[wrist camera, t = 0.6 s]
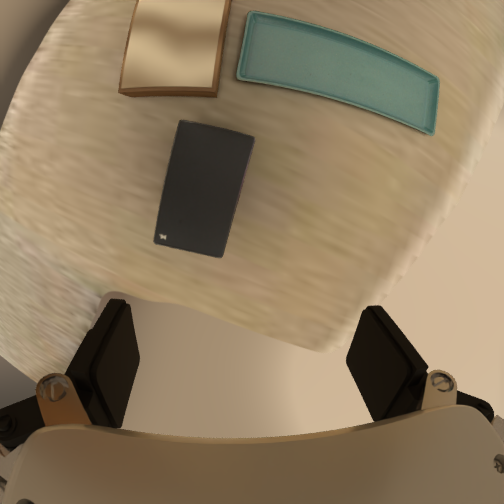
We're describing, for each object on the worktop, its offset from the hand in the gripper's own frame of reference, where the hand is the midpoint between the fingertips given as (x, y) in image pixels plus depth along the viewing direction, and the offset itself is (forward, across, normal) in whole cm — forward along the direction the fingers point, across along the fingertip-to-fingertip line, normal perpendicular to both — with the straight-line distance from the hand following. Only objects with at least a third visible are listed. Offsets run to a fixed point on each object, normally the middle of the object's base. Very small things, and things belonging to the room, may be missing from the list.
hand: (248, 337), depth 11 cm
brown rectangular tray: (+23, +8, -19) cm, 31 cm away
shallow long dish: (+24, -12, -18) cm, 32 cm away
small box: (+24, +3, -3) cm, 24 cm away
